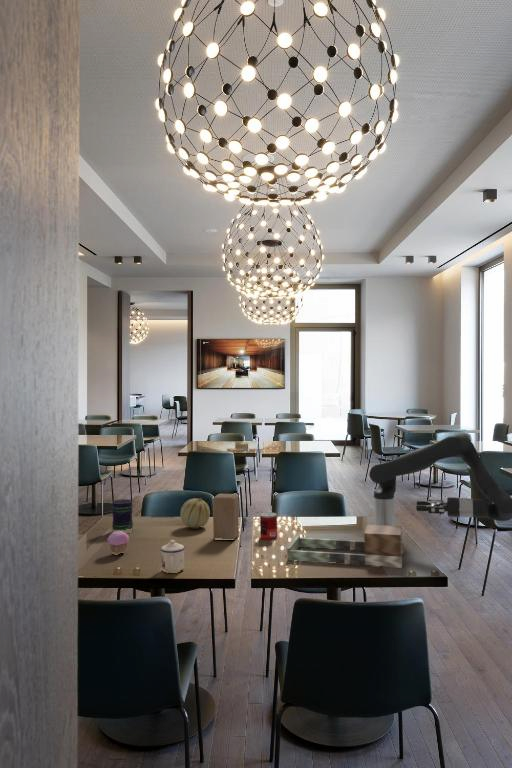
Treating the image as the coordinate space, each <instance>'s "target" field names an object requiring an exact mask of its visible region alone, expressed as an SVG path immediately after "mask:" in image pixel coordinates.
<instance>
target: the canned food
mask: <svg viewBox="0 0 512 768" xmlns="http://www.w3.org/2000/svg"><path fill="white" fill-rule="evenodd" d="M277 516H278V514H277V513H276V512H263V513H262V512H261V513H260V515H259V523H260V524H259V526H260V528H259V530H260V531H259V532H260V540H261V539H262V540H264V541H273V540H275V539H277V537H278V517H277Z"/></svg>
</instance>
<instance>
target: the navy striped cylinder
mask: <svg viewBox="0 0 512 768" xmlns="http://www.w3.org/2000/svg"><path fill="white" fill-rule="evenodd" d="M111 504H112V505H111V512H112V513H111V514H112V526H111V527H112V530H113V529H114V530H126V529H131V528H132V527H133V528H134V522H133V500H132V499H116V500H113V501H112V502H111Z"/></svg>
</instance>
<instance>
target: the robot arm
mask: <svg viewBox="0 0 512 768" xmlns="http://www.w3.org/2000/svg"><path fill="white" fill-rule="evenodd" d="M449 458H458V459H462V460H463V462H465V464H466V465H467V466H468V467H469V469H470V471H471V475H472V478H473V481H474V483H475V485H476V487H477V488H478V489H479V491H480V492H481V494H482V495H483V497H485V498H486V499H484V498H468V497H454V496H453V497H452V496H451V497H447V498H446V502H445V501H444V500H443V499H441V500H440V499H428V500H416V510H415V511H417V512H426V513H427V514H441V515H444V514H445V512H446V514H447V516H448V517H449V518H484V519H485V518H486V519H489V520H493V521H499V522H507V521H508V522H509V521H510V520H512V497H511V496H510V495H509V493H507V492H506V491H505V490H504V489H502V487H501V486H500V484H499V483H498V481H497V480H496V479H495V478H494V477H493V476H492V474H491V473H490V471H489V470H488V468H487V467H486V465H485V463H484V462H483V460H482V458H481V456H480V454H479V453H478V451H477V449H476V447H475V445H474V443H473V442H472V440H471V439H470V438H469V437H467V436H465V435H461V434H451V435H448V436H446V437H445V438H442V439H440V440H438V441H437V442H435V443H432V444H430V445H426V446H424V447H421V448H417V449H414V450H412V451H409V452H407V453H405V454H402V455H400V456H397V457H396V458H394V459H392V460H389V461H386V462H381V463H377V464H374V465H373V466H372V467H371V468H370V469H369V473H368V475H369V479H370V481H372V482H373V483H374V484H378V487H377V488H376V489H375V490H374V491H373V519H374V520H373V522H374V524H373V525H384V526H397V514H396V513H395V493H396V490H397V489H396V488H397V484H396V483H397V477H400V476H405V475H410V474H414V473H418V472H421V471H424V470H427V469H429V468H430V467H432V466H433V465H434V464H435V463H436V462H438V461H441V460H445V459H449ZM488 500H489V501H491V502H489V501H488Z"/></svg>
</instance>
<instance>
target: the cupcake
mask: <svg viewBox="0 0 512 768" xmlns="http://www.w3.org/2000/svg"><path fill="white" fill-rule="evenodd" d="M107 542H108V544H109V545H110V552H111V551H112V552H115V553H119V552H123V551H125V550H126V549H127V545H128V543H129V542H130V537H129V534H126V533H125V532H123V531H115V532H113V531H112V533H110V534H109V536H108V537H107ZM126 551H127V550H126ZM126 551H125V552H126Z"/></svg>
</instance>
